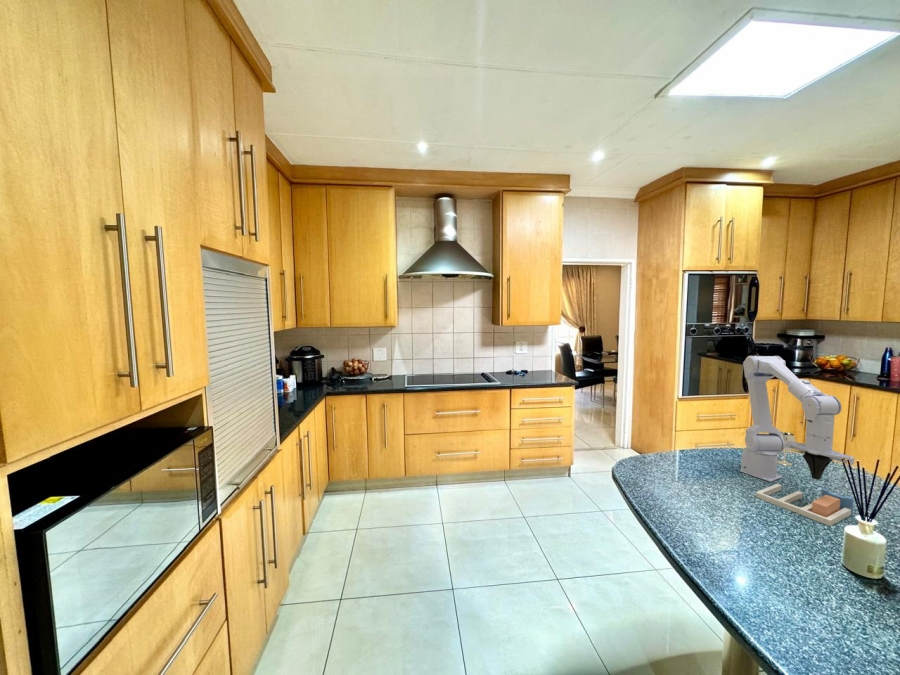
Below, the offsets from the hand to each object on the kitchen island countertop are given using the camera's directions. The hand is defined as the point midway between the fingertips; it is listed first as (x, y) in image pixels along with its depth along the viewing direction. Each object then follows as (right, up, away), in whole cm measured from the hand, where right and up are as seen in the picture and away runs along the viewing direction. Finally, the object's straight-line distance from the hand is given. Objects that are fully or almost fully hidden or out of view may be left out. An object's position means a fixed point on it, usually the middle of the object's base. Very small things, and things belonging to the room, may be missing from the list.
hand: (816, 478), depth 107 cm
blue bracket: (+6, -9, 0) cm, 11 cm away
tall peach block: (-1, -10, -3) cm, 10 cm away
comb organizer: (-2, -9, +2) cm, 10 cm away
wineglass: (+21, -7, +32) cm, 38 cm away
